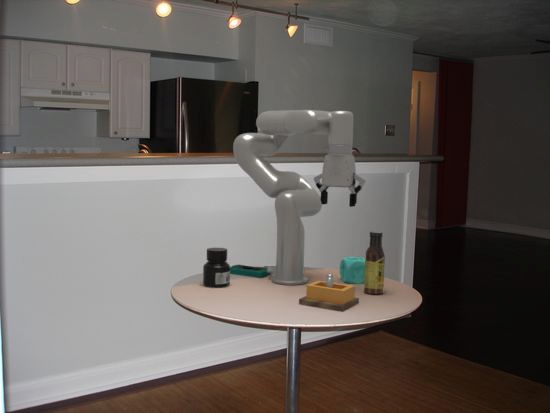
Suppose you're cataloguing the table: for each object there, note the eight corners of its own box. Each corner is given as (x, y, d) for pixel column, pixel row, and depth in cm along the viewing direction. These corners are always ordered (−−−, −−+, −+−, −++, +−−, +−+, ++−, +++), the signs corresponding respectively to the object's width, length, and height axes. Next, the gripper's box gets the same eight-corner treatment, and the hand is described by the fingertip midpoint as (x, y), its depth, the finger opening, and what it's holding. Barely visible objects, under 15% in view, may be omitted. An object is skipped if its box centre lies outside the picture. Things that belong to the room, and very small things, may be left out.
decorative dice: (339, 279, 214) (339, 256, 213) (360, 278, 215) (361, 256, 215) (346, 284, 206) (347, 261, 205) (368, 283, 208) (369, 260, 207)
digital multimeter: (237, 271, 225) (237, 263, 225) (271, 275, 218) (272, 267, 218) (226, 274, 219) (226, 266, 218) (261, 279, 211) (261, 271, 211)
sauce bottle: (381, 295, 190) (384, 233, 188) (361, 293, 192) (364, 232, 190) (384, 291, 196) (387, 231, 194) (366, 289, 198) (368, 229, 197)
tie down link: (306, 298, 178) (306, 285, 178) (318, 293, 185) (318, 280, 185) (343, 304, 172) (343, 291, 172) (354, 299, 179) (354, 285, 179)
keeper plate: (298, 304, 178) (299, 274, 177) (316, 296, 188) (317, 267, 187) (342, 311, 171) (343, 280, 170) (358, 302, 181) (359, 273, 180)
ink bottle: (222, 289, 194) (222, 252, 192) (197, 286, 197) (198, 250, 195) (234, 283, 203) (235, 248, 201) (211, 280, 206) (211, 246, 204)
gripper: (310, 150, 189) (308, 204, 191) (361, 151, 180) (359, 208, 182) (320, 150, 196) (318, 202, 197) (370, 151, 187) (368, 206, 189)
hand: (338, 205), depth 190 cm, fingers open, 9 cm apart
